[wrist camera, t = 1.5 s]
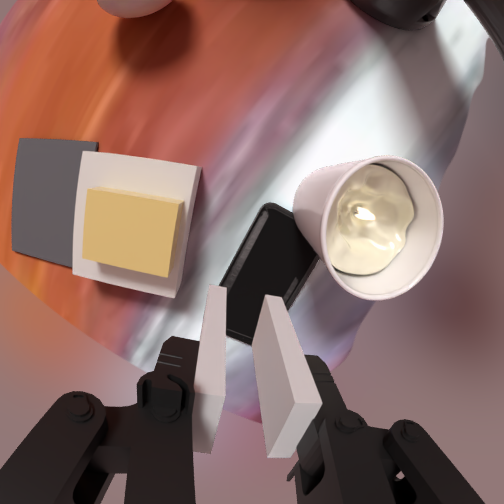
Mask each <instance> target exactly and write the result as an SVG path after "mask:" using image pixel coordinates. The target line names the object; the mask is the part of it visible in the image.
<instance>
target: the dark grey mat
mask: <svg viewBox="0 0 504 504" xmlns="http://www.w3.org/2000/svg"><path fill="white" fill-rule="evenodd" d="M97 148H98V142H88V141H75V140H58V139H30V138H19V144H18V150H17V157H16V165H15V173H14V184H13V198H12V250H13V251H16V252H20V253H23V254H26V255H30V256H33V257H36V258H40V259H43V260H47V261H50V262H54V263H57V264H61V265H65V266H68V267H72V268H73V231H74V216H75V204H76V195H77V186H78V178H79V171H80V165H81V159H82V153H83V151H91V152H97Z"/></svg>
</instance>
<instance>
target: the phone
mask: <svg viewBox="0 0 504 504" xmlns="http://www.w3.org/2000/svg"><path fill="white" fill-rule="evenodd" d="M319 258H320V257H319V256H318V255H317V254H316V252H315V251H314V250H313V248H312V247H311V246H310V244H309V243H308V242H307V240H306V239H305V238H304V236H303V235H302V234H301V232H300V231H299V229H298V227H297V225H296V222H295V219H294V214H293V213H292V212H290V211H288V210H286V209H285V208H283V207H281V206H279V205H277V204H275V203H266V204H264V205H263V206H262V207H261V208H260V210H259V212H258V214H257V215H256V217H255V219H254V221H253V223H252V225H251V226H250V228H249V230H248V232H247V234H246V236H245V238H244V239H243V241H242V243H241V245H240V247H239V249H238V251H237V252H236V254H235V256H234V258H233V260H232V262H231V264H230V266H229V267H228V269H227V271H226V273H225V275H224V277H223V279H222V281H221V282H220V284H219V286H220V287H226V288H227V295H226V335H227V336H230V337H232V338H235V339H237V340H240V341H242V342H245V343H247V344H250V345H252V342H253V338H254V335H255V331H256V327H257V324H258V320H259V316H260V313H261V309H262V305H263V301H264V298H265V295H271V296H277V297H282V299H283V302H284V304H285V307H286V310H288V309H289V307H290V306H291V304H292V303H293V301H294V299H295V298H296V296H297V295H298V293H299V291H300V290H301V288H302V287H303V285H304V283H305V282H306V280H307V278H308V277H309V275H310V273H311V272H312V270H313V268H314V267H315V265H316V263H317V262H318V260H319Z"/></svg>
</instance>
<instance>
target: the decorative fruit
mask: <svg viewBox="0 0 504 504" xmlns="http://www.w3.org/2000/svg"><path fill="white" fill-rule="evenodd" d="M171 1H172V0H97V2H98V4H99V5H100V7H101V8H102V9H104V10H105V11H106V12H108V13H110V14H112V15H114V16H118V17H122V18H136V17H142V16H146V15H149V14H152V13H154V12H156V11H158V10H160V9H162V8H163V7H165V6H166V5H168V4H169V3H170V2H171Z"/></svg>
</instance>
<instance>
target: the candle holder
mask: <svg viewBox="0 0 504 504" xmlns="http://www.w3.org/2000/svg"><path fill="white" fill-rule="evenodd" d="M293 214H294V219H295V222H296V225H297V227H298V229H299V231H300V232H301V234H302V235H303V236H304V238H305V239H306V240H307V242H308V243H309V244H310V246H311V247H312V248H313V250H314V251H315V252H316V254H317V255H318V256H319V257H320V259H321V260H322V261H323V263H324V264H325V265H326V267H327V268H328V270H329V272H330V274H331V275H332V277H333V278H334V280H335V281H336V282H337V283H338V284H339V285H340V286H341V287H342V288H343V289H344V290H346V291H347V292H348V293H350V294H352V295H354V296H356V297H358V298H361V299H365V300H372V301H379V300H387V299H391V298H394V297H397V296H399V295H401V294H403V293H405V292H406V291H408V290H409V289H411V288H412V287H413V286H415V285H416V284H417V283H418V282H419V281H420V280H421V279H422V278H423V277H424V275H425V274H426V273H427V272H428V270H429V269H430V267H431V265H432V264H433V262H434V260H435V258H436V256H437V253H438V250H439V247H440V244H441V240H442V234H443V210H442V204H441V200H440V197H439V194H438V192H437V189H436V187H435V185H434V184H433V182H432V180H431V179H430V178H429V176H428V175H427V174H426V173H425V172H424V171H423V170H422V169H421V168H420V167H419V166H417V165H416V164H414V163H413V162H411V161H409V160H407V159H404V158H401V157H397V156H390V155H384V156H376V157H372V158H369V159H365V160H359V161H353V162H348V163H342V164H337V165H332V166H327V167H323V168H320V169H317V170H315V171H313V172H312V173H310V174H309V175H308V176H307V177H305V178H304V180H303V181H302V182H301V183H300V185H299V186H298V188H297V190H296V193H295V196H294V200H293Z"/></svg>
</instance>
